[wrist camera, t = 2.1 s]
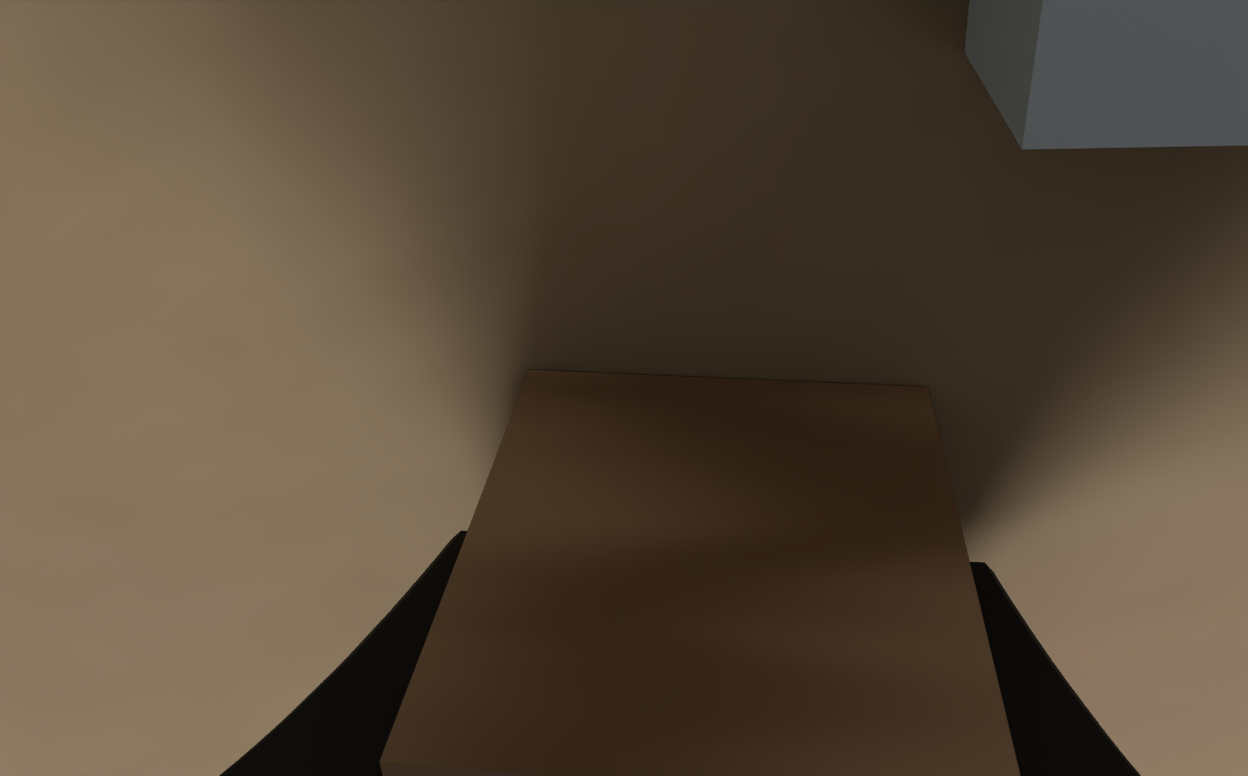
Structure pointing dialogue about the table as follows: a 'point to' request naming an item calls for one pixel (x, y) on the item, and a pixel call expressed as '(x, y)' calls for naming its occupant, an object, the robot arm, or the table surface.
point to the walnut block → (709, 592)
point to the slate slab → (1114, 71)
